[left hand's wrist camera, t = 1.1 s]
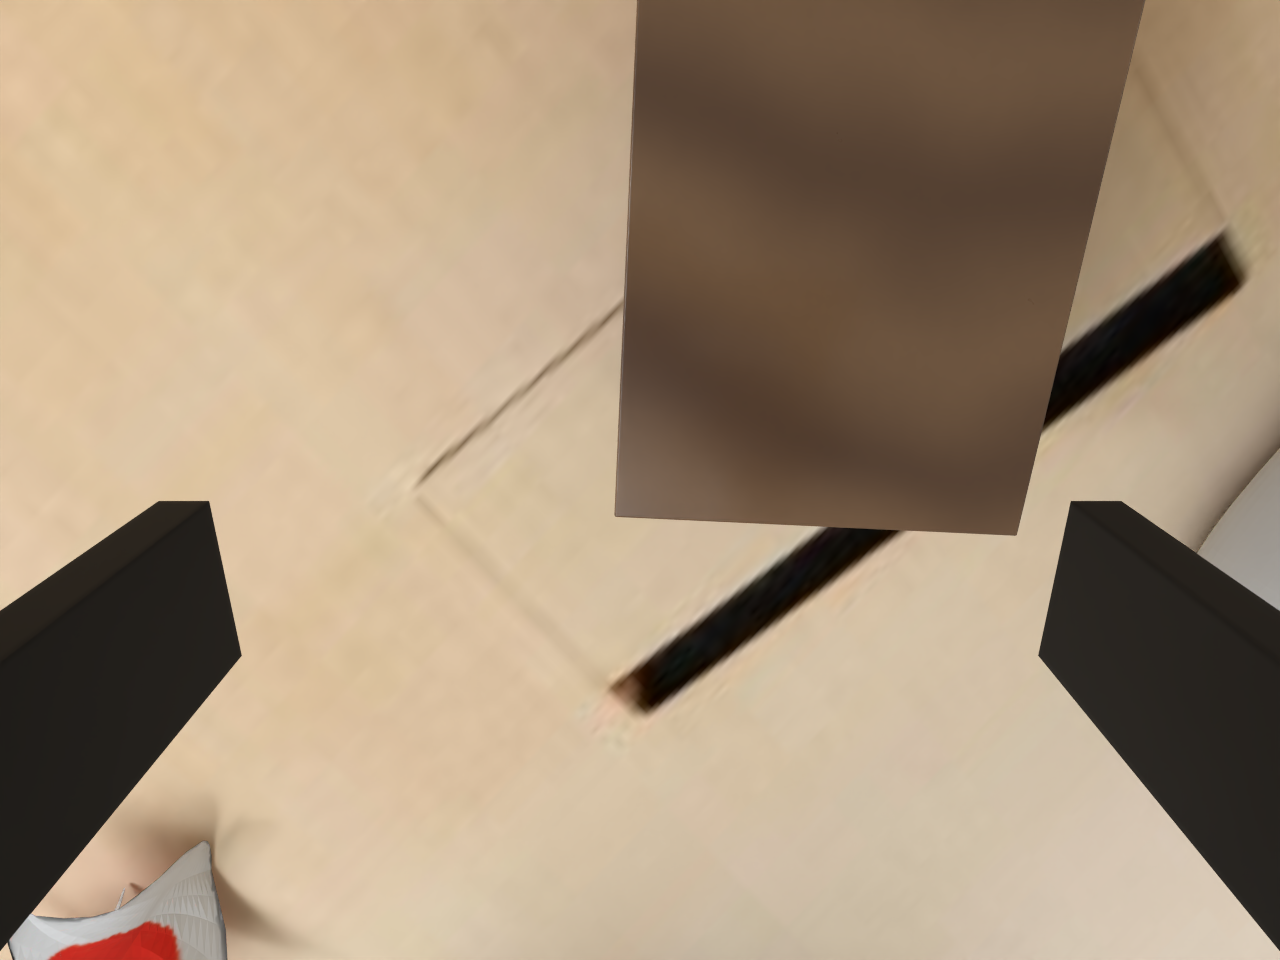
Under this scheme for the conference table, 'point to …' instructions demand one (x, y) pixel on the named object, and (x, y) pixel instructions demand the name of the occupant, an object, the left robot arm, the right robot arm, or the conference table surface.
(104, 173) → the conference table surface
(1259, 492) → the projector
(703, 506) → the cabinet
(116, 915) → the fish
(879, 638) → the conference table surface
